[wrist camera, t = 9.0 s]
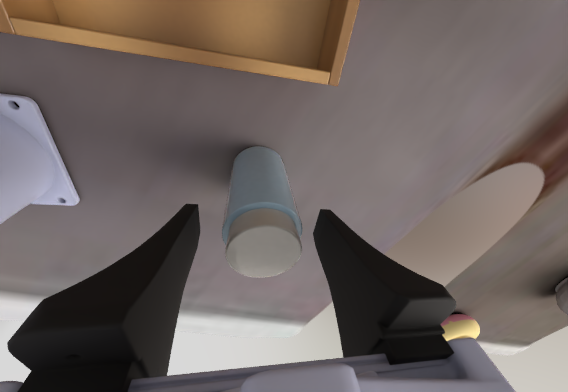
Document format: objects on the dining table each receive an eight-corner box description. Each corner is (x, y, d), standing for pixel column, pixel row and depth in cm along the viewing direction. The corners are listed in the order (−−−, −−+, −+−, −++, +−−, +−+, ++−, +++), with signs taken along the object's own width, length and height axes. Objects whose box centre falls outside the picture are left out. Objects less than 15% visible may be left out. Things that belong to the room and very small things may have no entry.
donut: (464, 307, 43) (452, 301, 38) (489, 330, 40) (479, 327, 34) (426, 337, 46) (410, 336, 40) (446, 362, 42) (431, 363, 37)
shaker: (231, 191, 19) (219, 282, 11) (232, 143, 16) (217, 219, 9) (281, 194, 20) (299, 280, 12) (288, 148, 17) (316, 222, 10)
